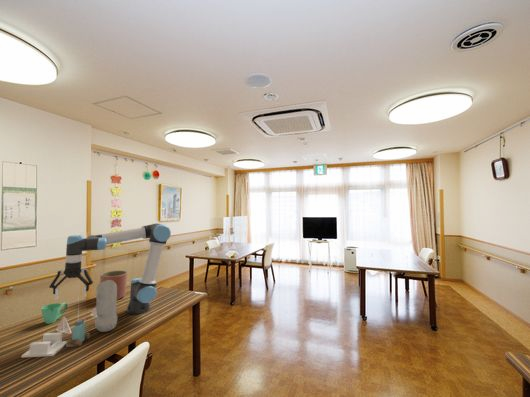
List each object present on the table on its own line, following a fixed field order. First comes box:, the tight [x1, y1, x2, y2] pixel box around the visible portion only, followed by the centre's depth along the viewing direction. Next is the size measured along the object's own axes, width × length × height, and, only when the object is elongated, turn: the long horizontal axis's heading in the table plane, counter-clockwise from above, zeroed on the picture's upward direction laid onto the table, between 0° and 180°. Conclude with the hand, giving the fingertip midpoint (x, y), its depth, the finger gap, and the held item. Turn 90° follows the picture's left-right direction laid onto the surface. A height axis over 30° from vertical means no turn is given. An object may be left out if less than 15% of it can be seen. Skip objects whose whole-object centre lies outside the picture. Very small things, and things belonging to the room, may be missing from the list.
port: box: [20, 332, 68, 358], centre depth 127 cm, size 14×12×6 cm
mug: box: [40, 302, 68, 325], centre depth 159 cm, size 15×10×10 cm
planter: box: [99, 269, 128, 301], centre depth 200 cm, size 19×19×20 cm
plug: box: [71, 318, 87, 343], centre depth 135 cm, size 4×5×12 cm
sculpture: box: [94, 280, 118, 333], centre depth 150 cm, size 15×12×30 cm
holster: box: [65, 332, 91, 348], centre depth 135 cm, size 7×9×3 cm
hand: (70, 298), depth 143 cm, fingers open, 13 cm apart
